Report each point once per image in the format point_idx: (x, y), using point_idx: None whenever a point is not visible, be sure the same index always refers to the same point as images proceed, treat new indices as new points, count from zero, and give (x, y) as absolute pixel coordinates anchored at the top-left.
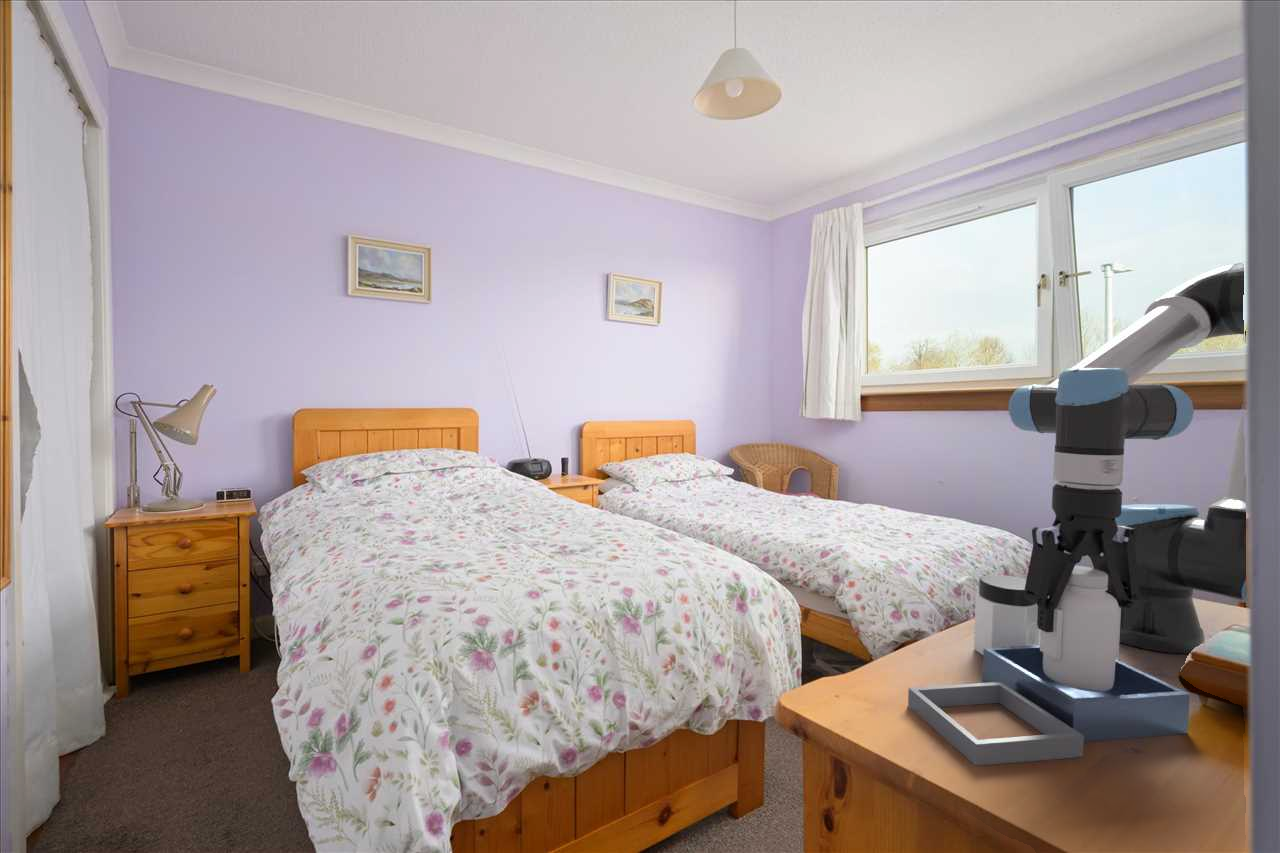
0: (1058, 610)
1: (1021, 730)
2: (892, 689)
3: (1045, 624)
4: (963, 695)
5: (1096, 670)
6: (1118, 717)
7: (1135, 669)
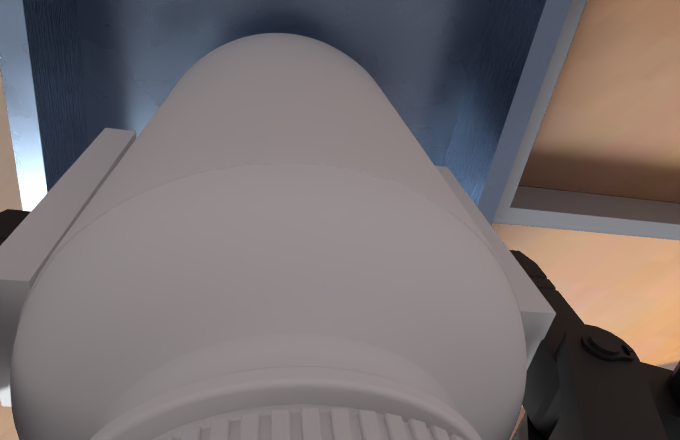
0: (554, 311)
1: (583, 41)
2: (659, 291)
3: (542, 279)
4: (603, 206)
5: (334, 57)
6: None
7: (18, 99)
